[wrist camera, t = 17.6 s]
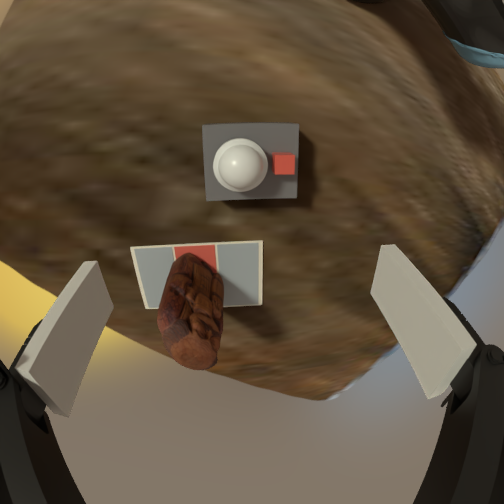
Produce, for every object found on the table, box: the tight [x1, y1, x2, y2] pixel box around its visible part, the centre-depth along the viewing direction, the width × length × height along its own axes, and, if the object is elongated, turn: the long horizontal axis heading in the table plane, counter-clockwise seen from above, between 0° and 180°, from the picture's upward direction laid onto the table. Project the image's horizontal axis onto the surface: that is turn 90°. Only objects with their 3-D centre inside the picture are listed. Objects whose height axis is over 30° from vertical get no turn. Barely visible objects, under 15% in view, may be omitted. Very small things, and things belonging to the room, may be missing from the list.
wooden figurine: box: [157, 253, 224, 370], centre depth 39 cm, size 12×6×18 cm, turn 39°
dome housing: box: [202, 122, 299, 201], centre depth 35 cm, size 12×10×7 cm
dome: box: [213, 138, 268, 192], centre depth 31 cm, size 6×6×5 cm
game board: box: [130, 240, 263, 309], centre depth 47 cm, size 22×13×1 cm, turn 91°
